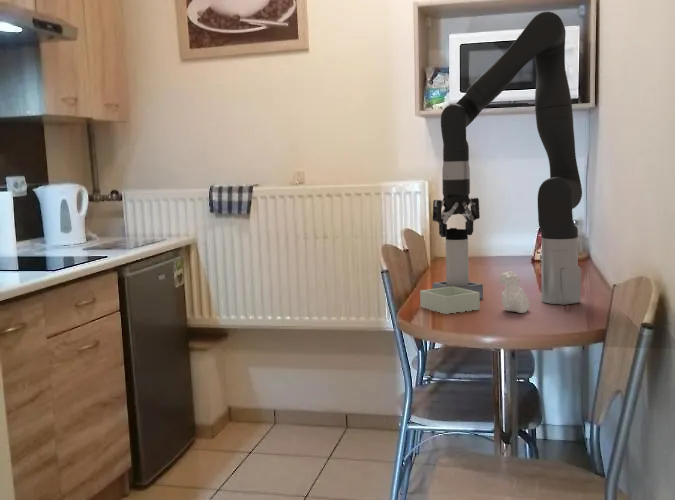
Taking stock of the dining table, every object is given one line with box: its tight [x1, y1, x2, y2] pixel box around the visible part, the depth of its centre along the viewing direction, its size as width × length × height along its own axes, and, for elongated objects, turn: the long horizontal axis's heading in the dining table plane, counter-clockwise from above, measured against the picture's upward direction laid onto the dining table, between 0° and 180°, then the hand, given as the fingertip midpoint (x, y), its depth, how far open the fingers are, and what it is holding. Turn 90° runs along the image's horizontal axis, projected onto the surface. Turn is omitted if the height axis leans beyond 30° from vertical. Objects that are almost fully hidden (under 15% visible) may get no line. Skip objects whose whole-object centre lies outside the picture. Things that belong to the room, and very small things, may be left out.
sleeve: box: [432, 280, 484, 300], centre depth 199 cm, size 11×10×4 cm
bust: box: [498, 270, 530, 314], centre depth 179 cm, size 12×8×11 cm
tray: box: [419, 286, 481, 315], centre depth 185 cm, size 12×11×4 cm
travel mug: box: [445, 227, 470, 287], centre depth 198 cm, size 6×7×20 cm
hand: (456, 235), depth 198 cm, fingers open, 8 cm apart
